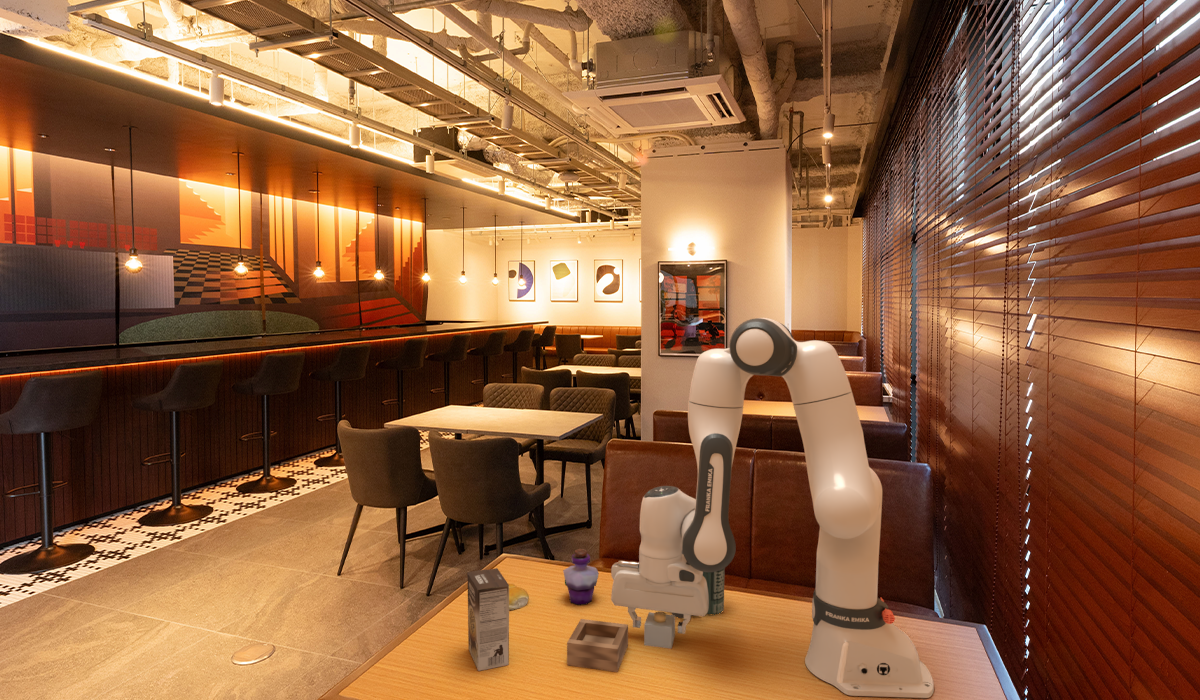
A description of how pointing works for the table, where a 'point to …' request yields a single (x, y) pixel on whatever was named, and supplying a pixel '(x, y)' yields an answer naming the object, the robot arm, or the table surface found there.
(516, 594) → the bread roll
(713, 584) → the can
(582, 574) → the potion bottle
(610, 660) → the box
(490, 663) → the coffee box
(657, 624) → the lid
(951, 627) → the table surface
